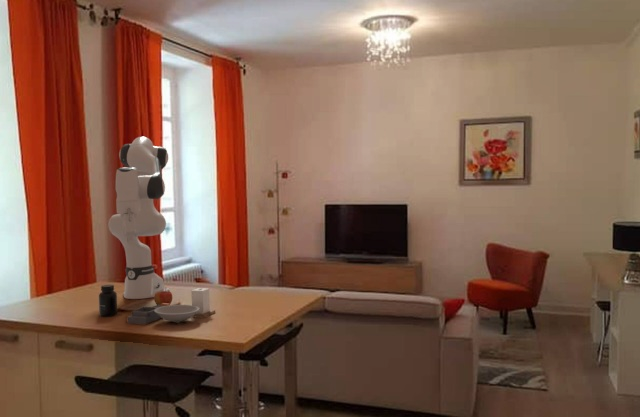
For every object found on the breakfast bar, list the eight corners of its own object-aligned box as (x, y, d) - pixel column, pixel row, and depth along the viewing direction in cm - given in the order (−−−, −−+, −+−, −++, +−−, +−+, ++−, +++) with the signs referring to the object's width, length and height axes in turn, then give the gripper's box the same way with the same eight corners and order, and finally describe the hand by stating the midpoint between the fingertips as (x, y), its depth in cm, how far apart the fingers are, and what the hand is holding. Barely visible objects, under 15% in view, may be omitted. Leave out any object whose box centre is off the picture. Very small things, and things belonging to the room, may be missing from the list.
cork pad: (197, 311, 221) (197, 309, 221) (215, 312, 219) (215, 310, 219) (187, 316, 214) (186, 313, 214) (205, 317, 211) (204, 315, 211)
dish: (145, 325, 202) (145, 312, 201) (168, 316, 215) (168, 303, 215) (186, 329, 196) (186, 315, 195) (207, 318, 209) (207, 306, 209)
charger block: (198, 310, 219) (198, 287, 219) (209, 310, 218) (209, 288, 217) (192, 313, 215) (191, 290, 214) (203, 313, 213) (202, 290, 213)
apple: (150, 308, 228) (150, 289, 228) (163, 304, 235) (162, 286, 234) (164, 310, 225) (163, 291, 224) (176, 306, 231) (175, 287, 231)
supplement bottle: (97, 317, 215) (96, 287, 214) (101, 313, 222) (99, 284, 221) (116, 316, 216) (114, 286, 216) (119, 312, 223) (117, 283, 222)
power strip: (167, 307, 230) (166, 297, 230) (183, 307, 228) (183, 298, 228) (127, 323, 206) (127, 312, 205) (145, 324, 203) (145, 313, 203)
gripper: (138, 209, 205) (139, 245, 206) (135, 206, 225) (137, 240, 225) (120, 209, 203) (122, 246, 204) (119, 207, 222) (121, 241, 223)
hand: (130, 243), depth 215 cm, fingers open, 8 cm apart
